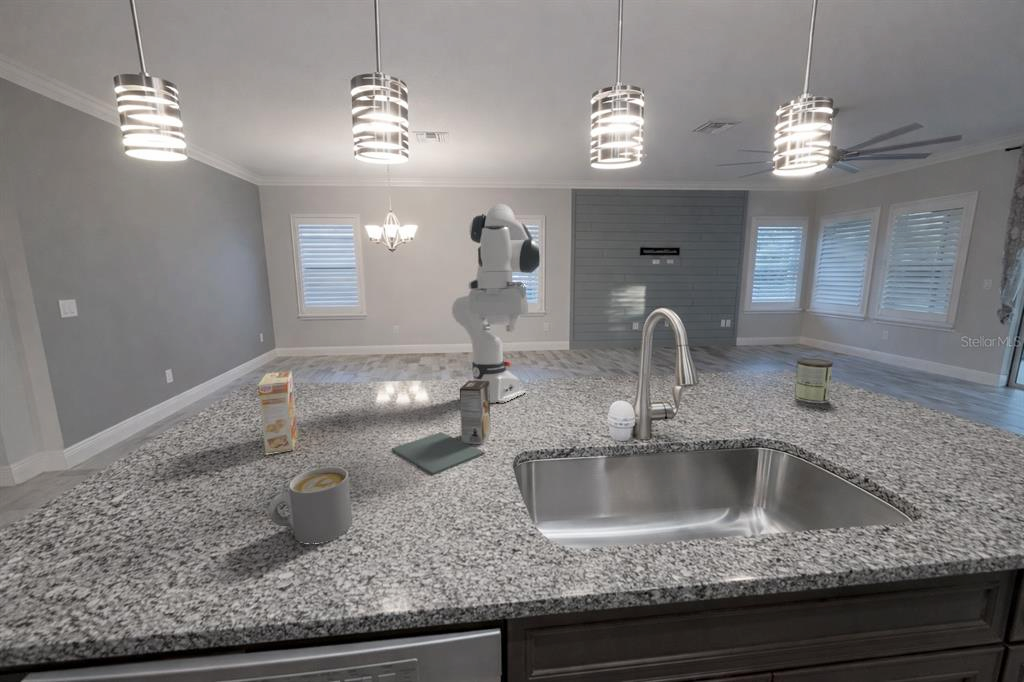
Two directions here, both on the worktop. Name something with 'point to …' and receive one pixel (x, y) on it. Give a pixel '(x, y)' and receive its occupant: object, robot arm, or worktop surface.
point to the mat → (437, 452)
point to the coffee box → (475, 412)
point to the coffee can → (813, 380)
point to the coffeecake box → (278, 412)
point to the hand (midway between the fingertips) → (498, 330)
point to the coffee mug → (316, 505)
